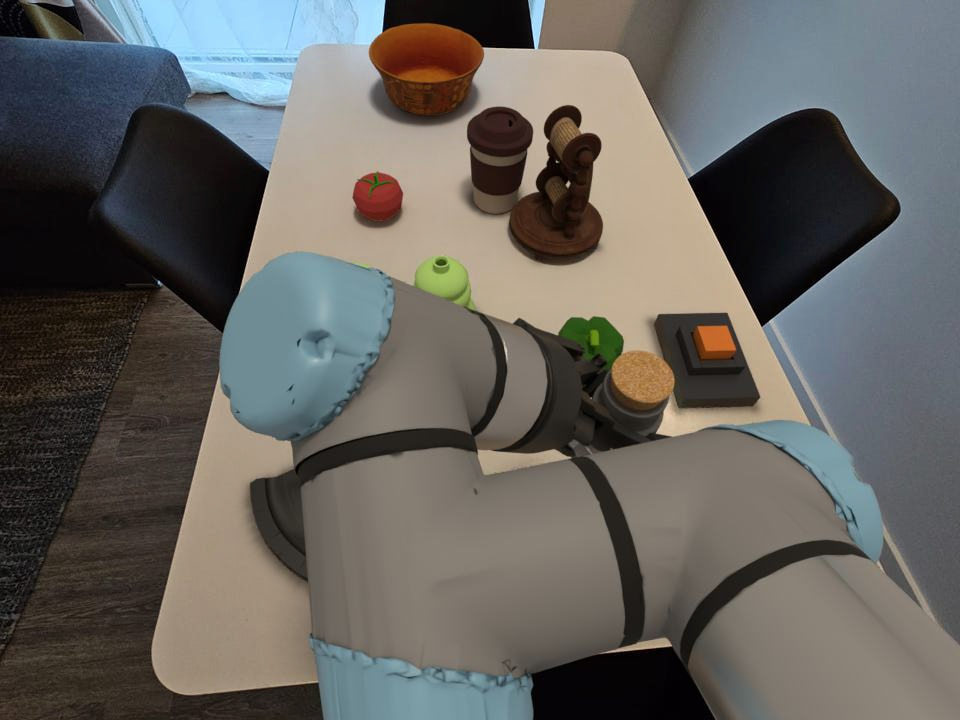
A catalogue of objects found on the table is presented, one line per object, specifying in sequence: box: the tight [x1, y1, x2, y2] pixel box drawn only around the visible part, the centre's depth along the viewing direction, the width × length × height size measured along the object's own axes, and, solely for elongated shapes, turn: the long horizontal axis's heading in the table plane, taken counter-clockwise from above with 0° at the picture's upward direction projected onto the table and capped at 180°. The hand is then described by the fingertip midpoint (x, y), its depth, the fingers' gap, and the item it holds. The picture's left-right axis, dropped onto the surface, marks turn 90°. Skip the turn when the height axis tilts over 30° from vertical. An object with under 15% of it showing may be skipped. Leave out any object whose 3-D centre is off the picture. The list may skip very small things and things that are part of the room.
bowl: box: [368, 22, 485, 116], centre depth 108 cm, size 21×21×10 cm
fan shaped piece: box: [249, 468, 308, 580], centre depth 62 cm, size 8×14×2 cm, turn 23°
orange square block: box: [692, 326, 736, 360], centre depth 74 cm, size 4×4×2 cm
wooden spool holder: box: [508, 104, 604, 260], centre depth 83 cm, size 15×15×20 cm
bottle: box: [570, 350, 674, 458], centre depth 49 cm, size 6×6×15 cm
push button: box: [654, 312, 761, 409], centre depth 76 cm, size 14×10×4 cm
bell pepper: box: [557, 315, 625, 388], centre depth 72 cm, size 8×8×10 cm
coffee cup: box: [466, 105, 534, 215], centre depth 90 cm, size 10×10×15 cm
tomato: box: [352, 170, 404, 222], centre depth 90 cm, size 8×8×8 cm
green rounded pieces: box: [349, 254, 477, 311], centre depth 74 cm, size 25×15×13 cm, turn 97°
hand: (647, 420), depth 51 cm, fingers closed on bottle, 6 cm apart
